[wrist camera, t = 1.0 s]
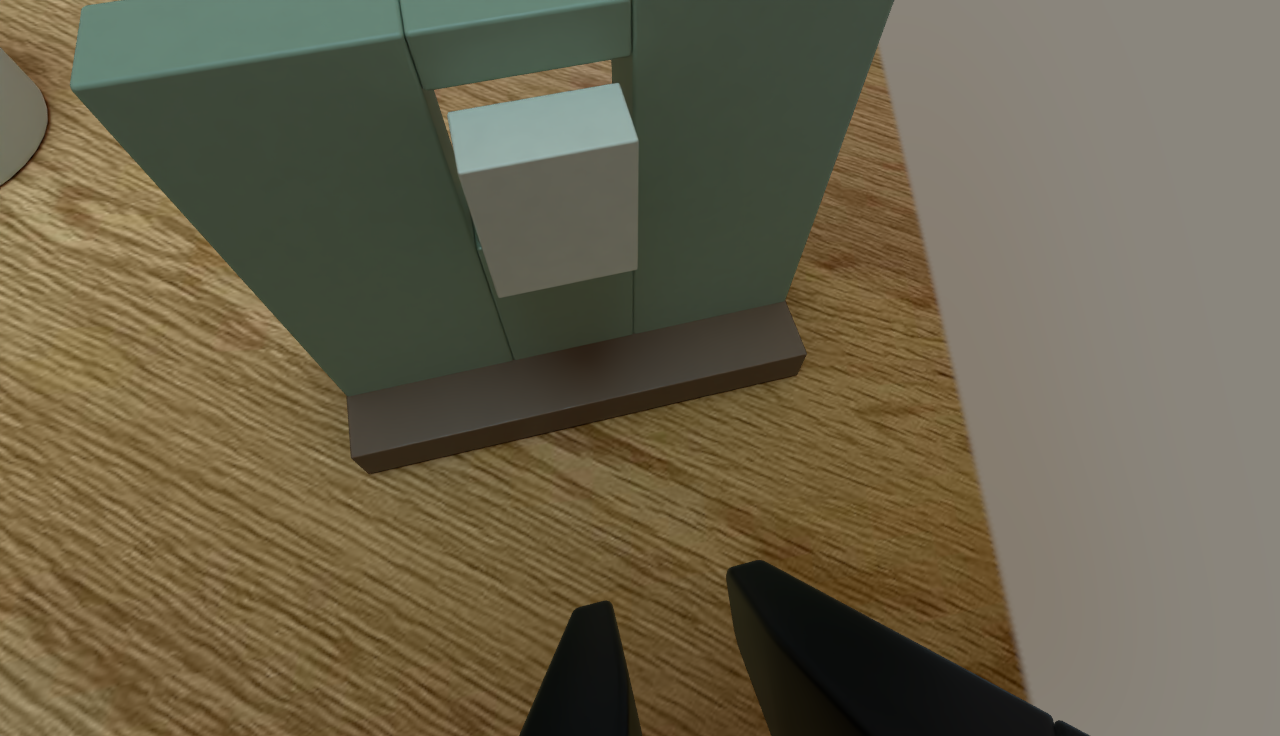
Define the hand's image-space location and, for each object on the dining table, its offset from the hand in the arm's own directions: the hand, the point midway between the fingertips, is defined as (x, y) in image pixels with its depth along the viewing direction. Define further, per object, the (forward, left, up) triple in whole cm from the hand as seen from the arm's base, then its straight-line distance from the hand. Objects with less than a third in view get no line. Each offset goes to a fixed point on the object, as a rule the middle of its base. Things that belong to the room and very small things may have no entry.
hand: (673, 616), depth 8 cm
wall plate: (+10, -6, -13) cm, 17 cm away
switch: (+7, -5, -5) cm, 10 cm away
